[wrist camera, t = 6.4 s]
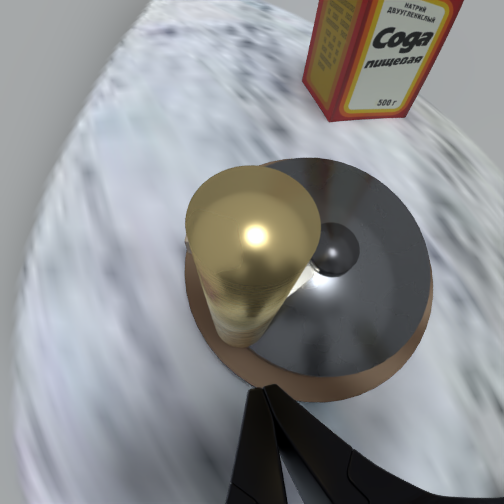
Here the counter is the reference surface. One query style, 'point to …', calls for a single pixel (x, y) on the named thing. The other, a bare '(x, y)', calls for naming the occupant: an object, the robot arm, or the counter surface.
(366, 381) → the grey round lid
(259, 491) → the robot arm
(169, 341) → the counter surface
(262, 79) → the counter surface
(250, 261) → the grey disc with post
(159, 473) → the counter surface
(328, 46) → the baking soda box
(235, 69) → the counter surface
